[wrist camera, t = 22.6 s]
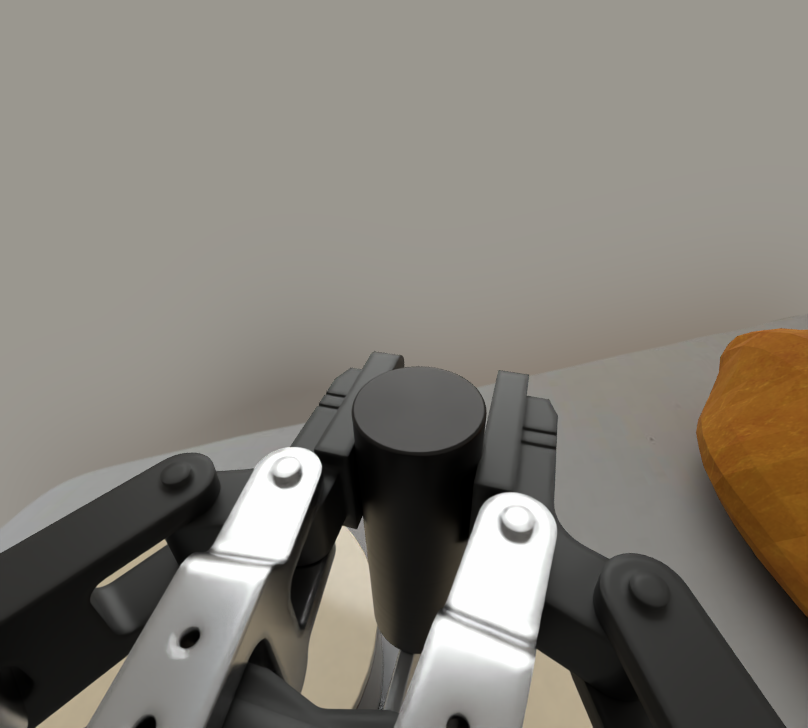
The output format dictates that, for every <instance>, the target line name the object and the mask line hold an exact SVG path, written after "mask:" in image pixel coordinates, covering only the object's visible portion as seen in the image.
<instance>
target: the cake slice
mask: <svg viewBox="0 0 808 728" xmlns="http://www.w3.org/2000/svg"><path fill="white" fill-rule="evenodd" d="M522 728H593V726H592V724H591V722H590V719H589V717H588V714H587V712H586V710H585V707H584V705H583V703H582V700H581V698H580V695H579V693H578V691H577V688H576V686H575V684H574V681H573V679H572V676H571V673H570V671H569V670H567V669H566V668H564V667H563V666H561V665H560V664H558V663H557V662H555V661H554V660H552V659H551V658H549V657H548V656H546V655H545V654H543V653H542V652H540V651H539V650H536V657H535V663H534V669H533V675H532V680H531V685H530V690H529V696H528V701H527V706H526V712H525V717H524V722H523V727H522Z"/></svg>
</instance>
